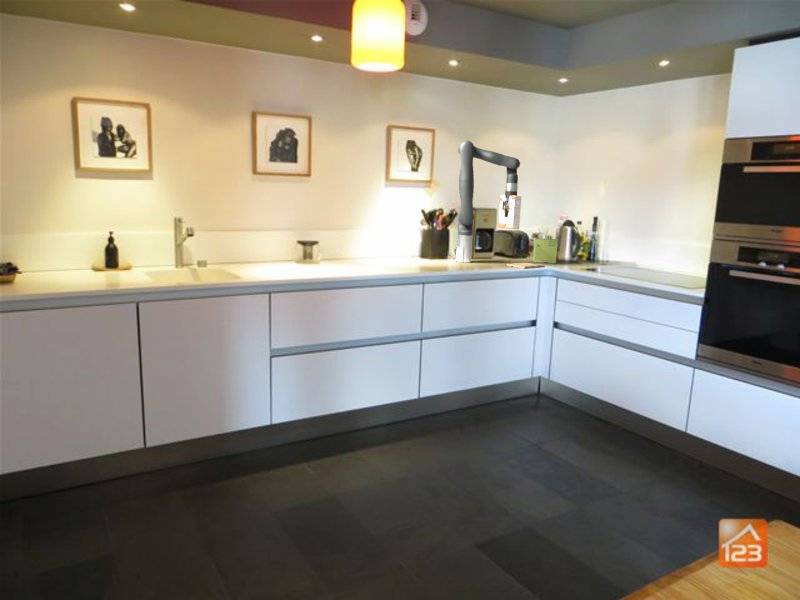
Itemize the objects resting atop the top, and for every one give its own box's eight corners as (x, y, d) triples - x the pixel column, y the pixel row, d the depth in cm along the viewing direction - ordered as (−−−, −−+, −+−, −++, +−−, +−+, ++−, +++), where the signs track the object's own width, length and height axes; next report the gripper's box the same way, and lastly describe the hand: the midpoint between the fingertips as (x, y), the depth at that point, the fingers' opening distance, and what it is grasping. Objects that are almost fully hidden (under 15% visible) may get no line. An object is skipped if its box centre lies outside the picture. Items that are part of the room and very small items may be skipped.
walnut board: (524, 268, 350) (524, 266, 350) (506, 265, 360) (506, 263, 360) (544, 266, 363) (544, 265, 363) (526, 264, 373) (526, 262, 373)
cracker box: (498, 227, 375) (500, 194, 371) (505, 227, 378) (507, 195, 374) (511, 229, 363) (514, 195, 359) (519, 229, 366) (521, 195, 362)
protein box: (555, 263, 386) (558, 240, 383) (532, 261, 391) (534, 238, 388) (556, 261, 396) (558, 239, 393) (533, 260, 400) (535, 237, 398)
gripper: (513, 190, 373) (511, 216, 376) (499, 190, 364) (497, 216, 367) (522, 191, 368) (520, 217, 371) (509, 190, 358) (507, 217, 361)
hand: (509, 216), depth 369 cm, fingers closed on cracker box, 6 cm apart
